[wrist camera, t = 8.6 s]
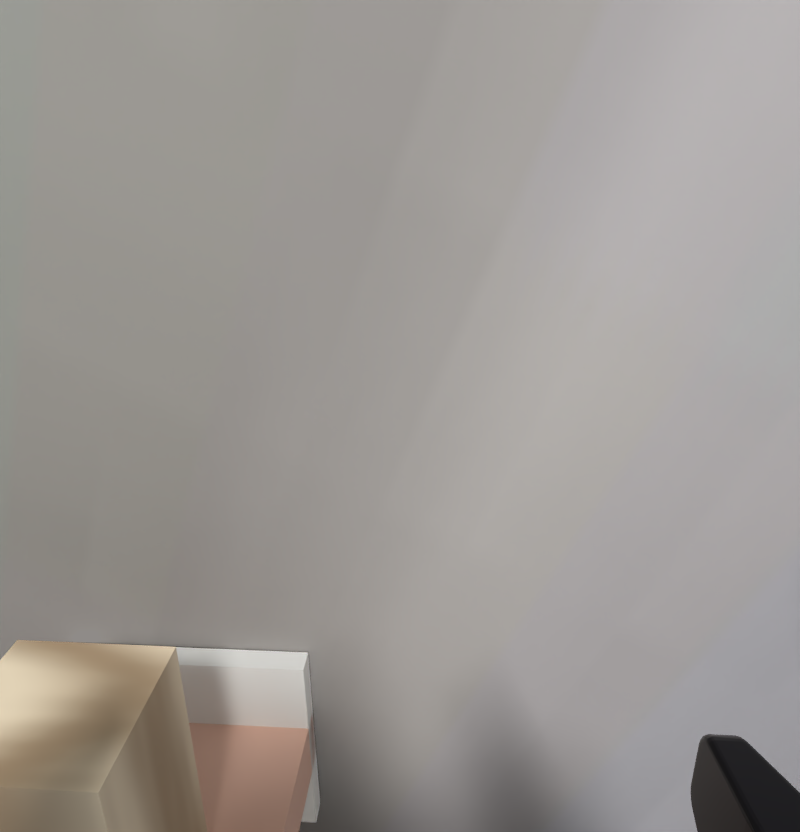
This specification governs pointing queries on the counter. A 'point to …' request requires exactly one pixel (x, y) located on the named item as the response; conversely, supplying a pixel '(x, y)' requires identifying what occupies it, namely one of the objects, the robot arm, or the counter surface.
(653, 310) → the counter surface
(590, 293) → the counter surface
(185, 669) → the fulcrum
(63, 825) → the beam
